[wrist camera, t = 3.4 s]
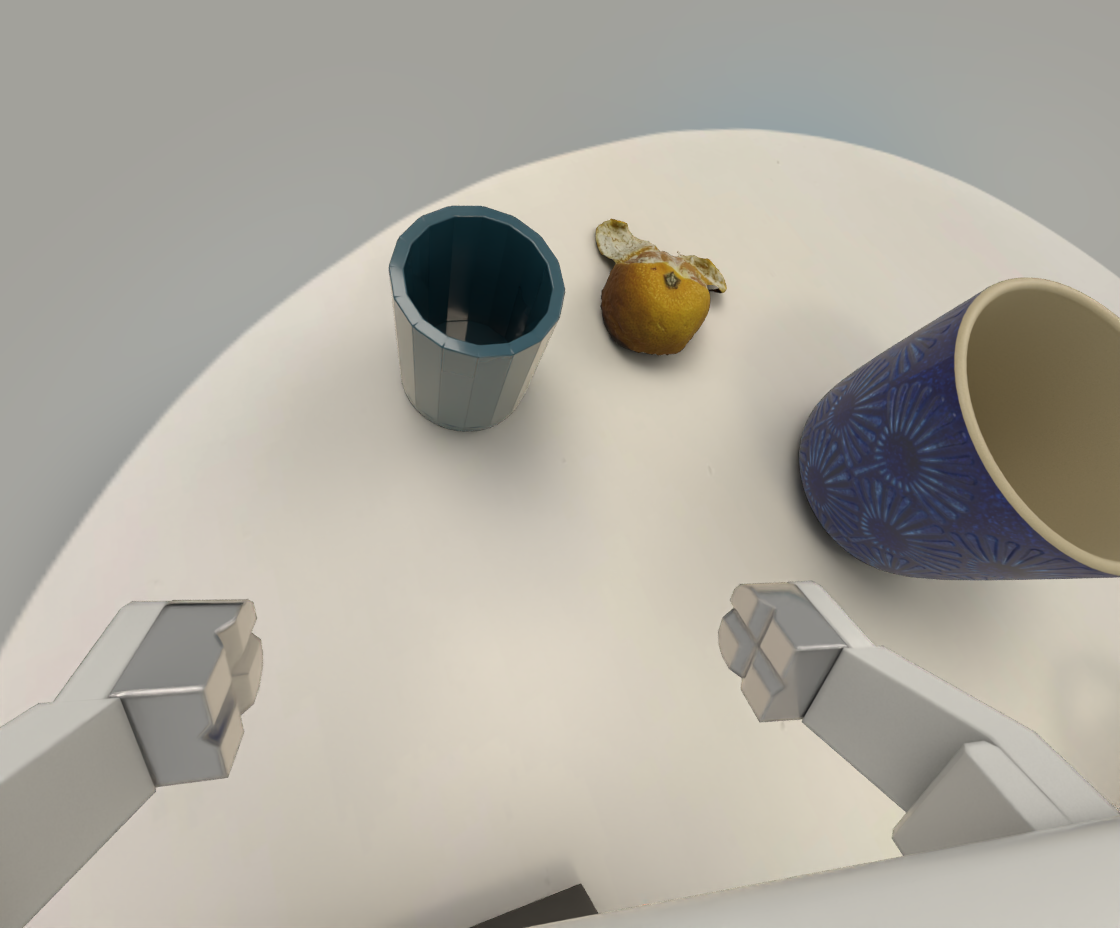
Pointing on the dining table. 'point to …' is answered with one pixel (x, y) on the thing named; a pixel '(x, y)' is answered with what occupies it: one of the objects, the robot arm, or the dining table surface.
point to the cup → (472, 313)
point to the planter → (979, 443)
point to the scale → (546, 910)
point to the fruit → (653, 292)
